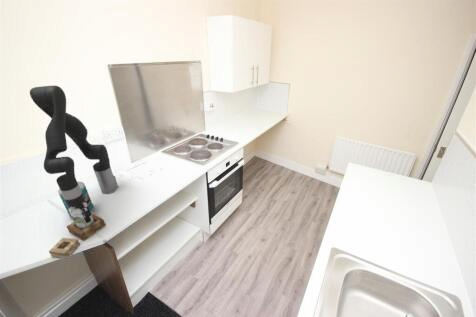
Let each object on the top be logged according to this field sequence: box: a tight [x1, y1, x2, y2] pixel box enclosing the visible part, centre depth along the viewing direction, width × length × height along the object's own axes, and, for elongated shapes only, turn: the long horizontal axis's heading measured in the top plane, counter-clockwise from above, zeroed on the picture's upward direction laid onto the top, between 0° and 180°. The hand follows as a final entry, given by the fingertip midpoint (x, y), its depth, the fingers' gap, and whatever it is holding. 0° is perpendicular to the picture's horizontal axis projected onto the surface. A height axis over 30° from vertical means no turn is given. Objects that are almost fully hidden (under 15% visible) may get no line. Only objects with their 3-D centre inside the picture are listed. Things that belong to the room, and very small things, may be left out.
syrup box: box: [68, 203, 94, 230], centre depth 111 cm, size 6×6×14 cm
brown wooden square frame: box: [66, 212, 106, 242], centre depth 115 cm, size 12×12×4 cm
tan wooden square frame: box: [48, 237, 81, 259], centre depth 103 cm, size 8×8×4 cm
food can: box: [57, 181, 95, 220], centre depth 122 cm, size 12×12×18 cm
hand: (83, 219), depth 112 cm, fingers closed on syrup box, 7 cm apart
